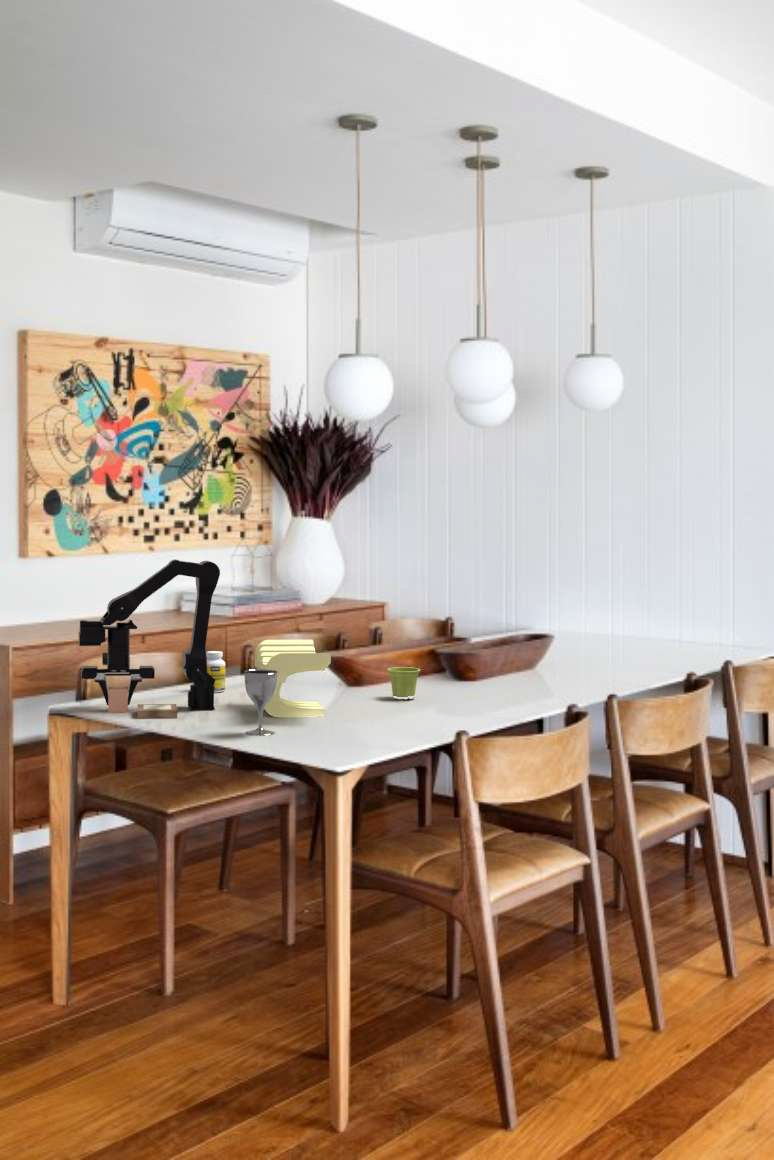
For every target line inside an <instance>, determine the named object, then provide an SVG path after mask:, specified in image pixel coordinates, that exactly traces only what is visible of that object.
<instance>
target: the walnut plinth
mask: <svg viewBox="0 0 774 1160" xmlns="http://www.w3.org/2000/svg"><path fill="white" fill-rule="evenodd" d="M136 711H137V713H136V715H137V717H136V718H137V719H178V706H177V704H176V703H151V704H150V703H148V704H147V703H145V704H144V703H141V704H137V709H136Z"/></svg>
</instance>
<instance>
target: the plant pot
mask: <svg viewBox="0 0 774 1160" xmlns="http://www.w3.org/2000/svg"><path fill="white" fill-rule="evenodd" d="M387 671H388V673H389V677H390V683H391V693H392V697H393V696H397V697H408V696H414V695H415V696H416V689H417V682H418V677H419V673H420V672H421V669H420V668H417V667H411V666H410V667H408V666H407V667H406V666H405V667H404V666H399V667H389V668H387Z"/></svg>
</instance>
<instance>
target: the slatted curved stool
mask: <svg viewBox="0 0 774 1160" xmlns="http://www.w3.org/2000/svg"><path fill="white" fill-rule="evenodd" d="M254 653H255V654H254V668H256V669H268V670H275V671H277V672H278V678H277V687H276V691H275V694H274V696H273V697H272V698H271V699H270V700H269V702H268V703H267V704H266V706H265V707H264V710H265V712H267V714H269V716H272V717H274V718H303V717H304V718H309V717H310V718H311V717H312V718H313V717H318V716H322V717H325V710H324V707H323V706H322V705H320V703H319V702H318V701H296V700H295V701H294V700H289V699H285V698H283V697H280V693H281V692H280V691H281V687H282V685H283V683H286V681H287V678H288V677H290V676H292V675H295V674H298V673H304V672H314V671H325V670H326V669H328V667H329V666H330V665H331V664H332V663H331V662H332V653H331V652H316V649H315V645H314V640H313V639H265V640H262V641H261V642H260V643H259V644H258V645H257V646H256V648H255V652H254Z"/></svg>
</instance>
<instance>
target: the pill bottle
mask: <svg viewBox="0 0 774 1160" xmlns="http://www.w3.org/2000/svg"><path fill="white" fill-rule="evenodd" d="M223 654H224V653H223V651H221V650H220V651H218V650H210V651H206V658H207V673H208V674H210V675H211V676H212V677H213V678H214V679H215V683H214V694H215V693H216V694H218V693H219V692H220V693H224V692H225V691H226V662H225V661H224V660H223V659H222V658H223V656H224V655H223Z"/></svg>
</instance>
